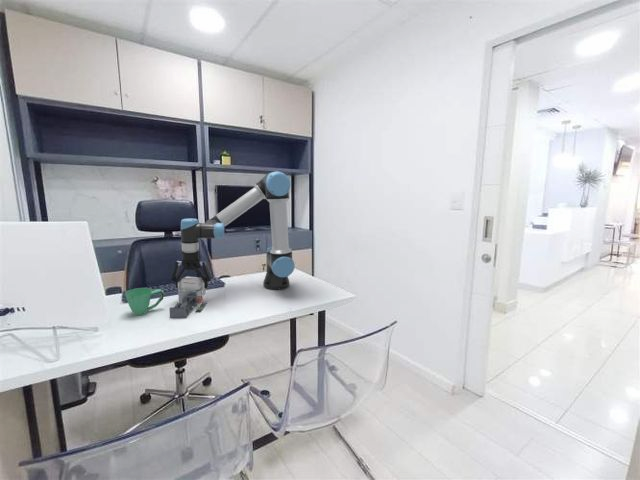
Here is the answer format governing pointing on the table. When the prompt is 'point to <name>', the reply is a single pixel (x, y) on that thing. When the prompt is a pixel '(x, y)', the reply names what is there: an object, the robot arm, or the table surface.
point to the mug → (141, 299)
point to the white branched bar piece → (188, 298)
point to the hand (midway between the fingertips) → (192, 294)
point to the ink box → (192, 285)
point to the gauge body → (184, 310)
